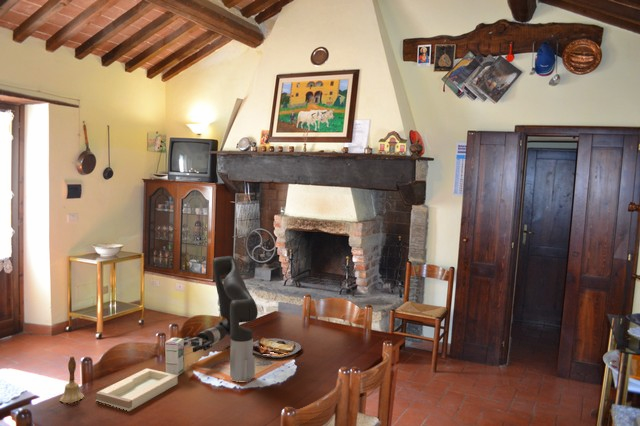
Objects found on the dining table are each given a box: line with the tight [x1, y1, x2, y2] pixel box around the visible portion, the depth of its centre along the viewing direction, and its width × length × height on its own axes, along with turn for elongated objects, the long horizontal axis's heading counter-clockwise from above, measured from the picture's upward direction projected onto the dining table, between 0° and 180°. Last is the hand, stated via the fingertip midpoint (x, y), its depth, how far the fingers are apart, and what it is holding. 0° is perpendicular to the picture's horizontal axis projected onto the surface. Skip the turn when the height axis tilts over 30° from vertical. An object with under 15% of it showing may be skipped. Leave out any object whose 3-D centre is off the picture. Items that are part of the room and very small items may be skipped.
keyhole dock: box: [95, 367, 178, 412], centre depth 194 cm, size 26×16×4 cm, turn 156°
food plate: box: [253, 337, 302, 358], centre depth 243 cm, size 25×23×4 cm
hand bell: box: [59, 356, 85, 402], centre depth 187 cm, size 8×8×16 cm
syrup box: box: [164, 337, 185, 377], centre depth 213 cm, size 6×6×14 cm
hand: (185, 348), depth 219 cm, fingers open, 8 cm apart
